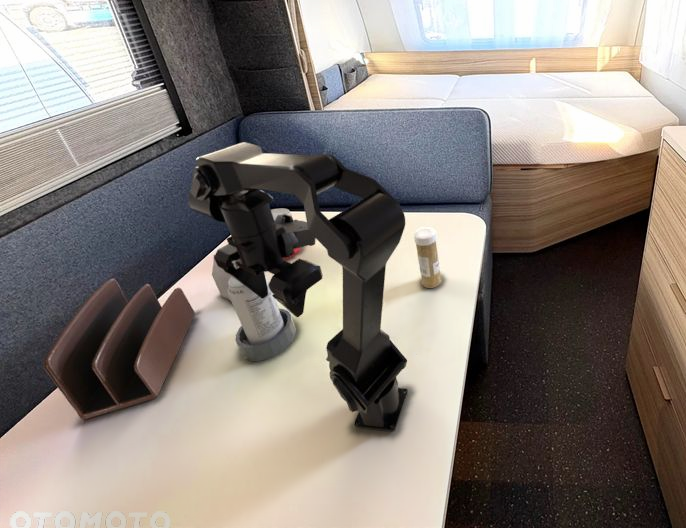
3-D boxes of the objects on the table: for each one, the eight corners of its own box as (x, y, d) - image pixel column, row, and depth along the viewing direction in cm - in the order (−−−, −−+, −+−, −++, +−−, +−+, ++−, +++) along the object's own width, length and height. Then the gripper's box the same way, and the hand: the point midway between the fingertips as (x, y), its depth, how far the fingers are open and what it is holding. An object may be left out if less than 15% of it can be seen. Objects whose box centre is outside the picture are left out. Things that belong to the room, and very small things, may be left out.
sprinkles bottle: (445, 283, 86) (439, 233, 80) (426, 291, 84) (418, 241, 78) (436, 272, 90) (430, 223, 84) (418, 280, 87) (410, 230, 82)
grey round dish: (276, 363, 69) (271, 349, 67) (229, 359, 70) (223, 345, 69) (305, 322, 77) (301, 309, 76) (263, 320, 78) (258, 307, 77)
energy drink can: (273, 322, 77) (250, 262, 71) (293, 332, 75) (271, 270, 68) (244, 345, 72) (216, 283, 66) (265, 356, 70) (238, 293, 63)
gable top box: (240, 304, 82) (224, 267, 78) (221, 295, 85) (204, 259, 81) (256, 293, 85) (242, 257, 81) (237, 285, 88) (222, 249, 84)
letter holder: (81, 422, 60) (32, 360, 55) (138, 328, 77) (105, 273, 71) (158, 399, 64) (119, 338, 58) (196, 313, 80) (169, 259, 74)
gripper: (339, 215, 60) (359, 292, 66) (266, 190, 68) (290, 261, 74) (272, 256, 51) (302, 340, 57) (197, 222, 59) (230, 299, 66)
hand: (281, 305), depth 64 cm, fingers open, 9 cm apart
